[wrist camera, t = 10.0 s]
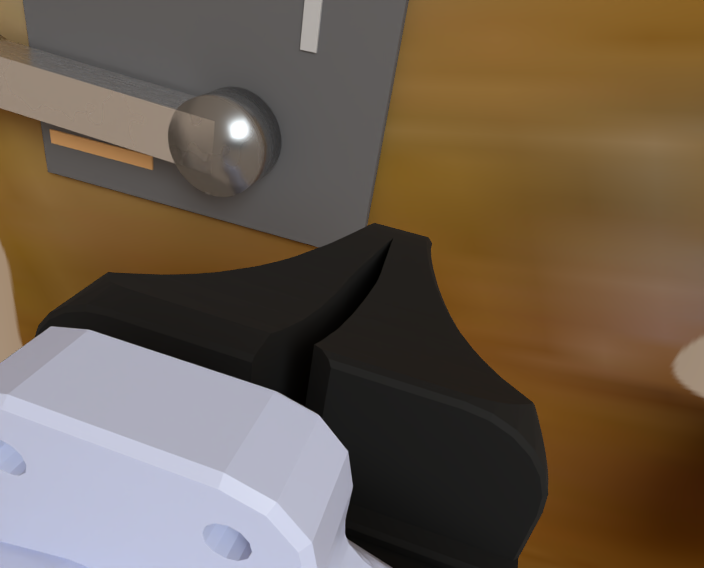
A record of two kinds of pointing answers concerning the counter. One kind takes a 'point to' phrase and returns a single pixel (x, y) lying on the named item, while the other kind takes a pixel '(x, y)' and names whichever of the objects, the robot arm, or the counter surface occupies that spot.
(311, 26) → the lock plate
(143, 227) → the counter surface
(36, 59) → the lever
